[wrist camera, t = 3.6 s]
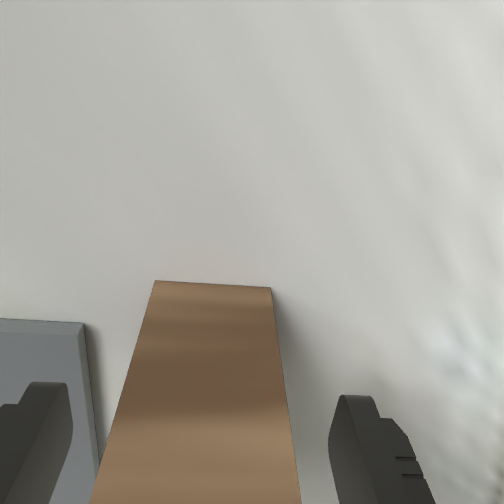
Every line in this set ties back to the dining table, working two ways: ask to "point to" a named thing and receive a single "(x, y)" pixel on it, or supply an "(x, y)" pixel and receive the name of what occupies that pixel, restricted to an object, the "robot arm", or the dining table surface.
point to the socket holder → (54, 370)
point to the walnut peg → (202, 404)
